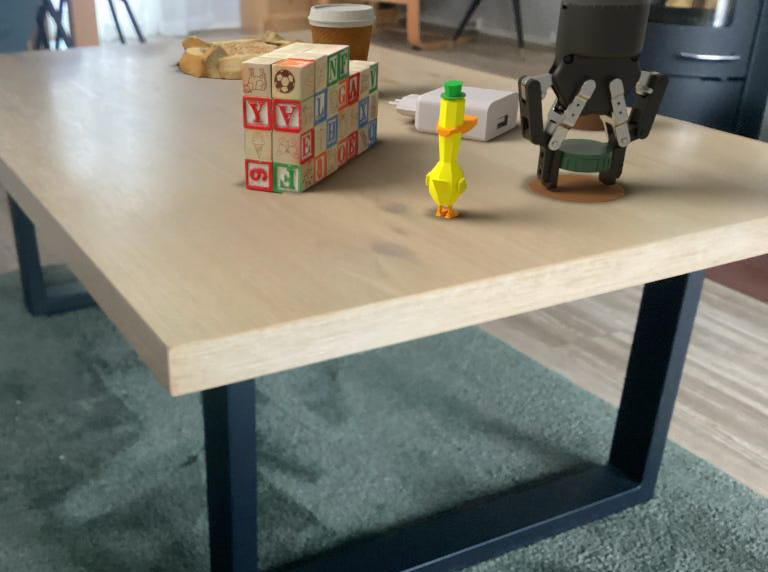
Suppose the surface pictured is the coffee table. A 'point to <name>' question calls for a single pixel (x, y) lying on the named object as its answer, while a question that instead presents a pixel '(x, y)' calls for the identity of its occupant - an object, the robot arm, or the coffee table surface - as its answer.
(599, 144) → the lid
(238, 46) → the tan flat lumpy slab
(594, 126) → the jar
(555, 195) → the coaster
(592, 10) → the robot arm
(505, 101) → the charger
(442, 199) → the toy figure
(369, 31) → the disposable coffee cup
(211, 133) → the coffee table surface
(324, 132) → the stack of blocks
